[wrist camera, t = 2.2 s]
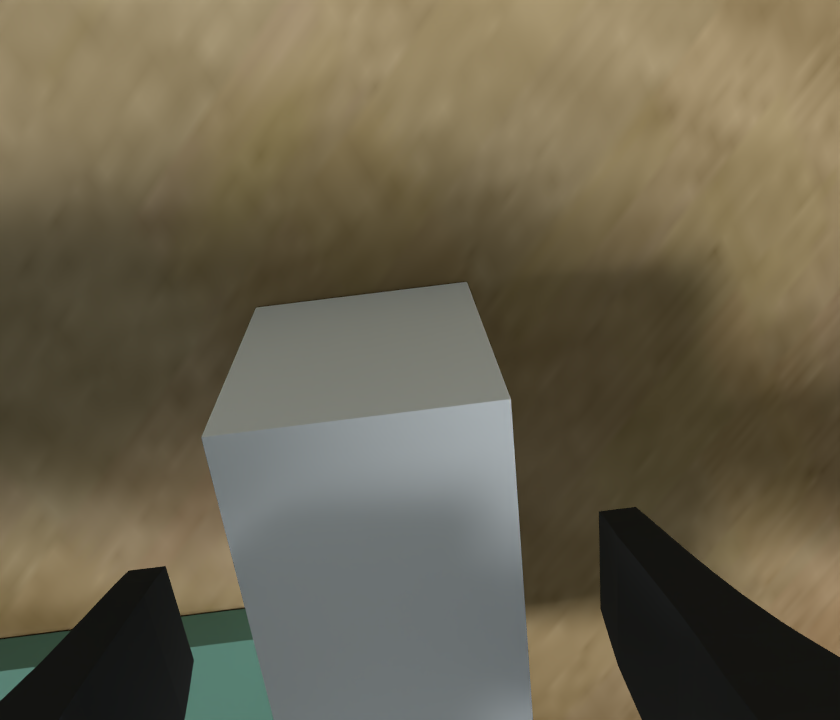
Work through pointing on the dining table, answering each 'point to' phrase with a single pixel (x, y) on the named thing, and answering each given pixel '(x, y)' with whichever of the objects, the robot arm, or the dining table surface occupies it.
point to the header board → (211, 676)
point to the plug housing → (375, 509)
